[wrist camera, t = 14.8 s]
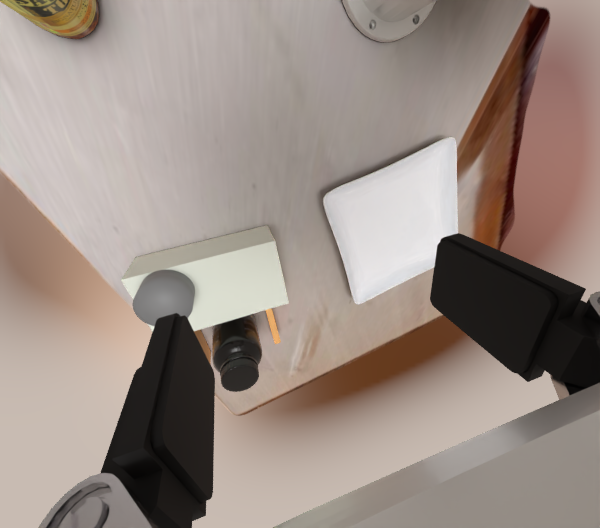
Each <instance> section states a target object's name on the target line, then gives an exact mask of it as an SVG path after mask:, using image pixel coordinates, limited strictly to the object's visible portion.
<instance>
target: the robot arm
mask: <svg viewBox="0 0 600 528" xmlns="http://www.w3.org/2000/svg"><path fill="white" fill-rule="evenodd" d="M436 1H437V0H342V2H343V5H344V7H345V9H346V12H347V14H348V16H349V18H350V19H351V21H352V22H353V23H354V25H355V26H356V27H357V28H358V29H359V30H360V31H361V32H362V33H363V34H364V35H366V36H367V37H369V38H371V39H372V40H376V41H379V42H391V41H395V40H399V39H401V38H403V37H405V36H407V35H409V34H410V33H411V32H413V31H414V30H416V29H417V28H418V27H419V26H420V25H421V24H422V23H423V22H424V20H425V19H426V18H427V16H428V15H429V13H430V12H431V10H432V8H433V6H434V5H435V3H436ZM369 25H370V28H369ZM585 290H586V289H585V288H583V287H580V286H578V285H576V284H574V283H571V282H569V281H567V280H564V279H562V278H560V277H558V276H555V275H553V274H551V273H549V272H546V271H544V270H542V269H540V268H537V267H535V266H533V265H530V264H528V263H526V262H524V261H521V260H519V259H517V258H514V257H512V256H510V255H508V254H506V253H503V252H501V251H499V250H496V249H494V248H492V247H490V246H487V245H485V244H483V243H481V242H478V241H476V240H474V239H471V238H469V237H467V236H465V235H462V234H459V233H458V234H453V235H450V236H446V237H443V238H442V239H441V240H440V243H439V244H438V245H437V252H436V259H435V266H434V274H433V281H432V289H431V296H430V300H431V303H432V305H433V306H434V307H435V308H436V309H437V310H438V311H440V312H441V313H442V314H443V315H444V316H446V317H447V318H448V319H449V320H450V321H452V322H453V323H454V324H455V325H456V326H458V327H459V328H460V329H461V330H462V331H464V332H465V333H466V334H467V335H468V336H470V337H471V338H472V339H473V340H474V341H476V342H477V343H478V344H479V345H480V346H482V347H483V348H484V349H485V350H486V351H488V352H489V353H490V354H491V355H492V356H494V357H495V358H496V359H497V360H499V361H500V362H501V363H502V364H503V365H504V366H505V367H507V368H508V369H509V370H511V371H512V372H514V373H518V374H519V375H520V376H521V377H523V378H524V379H525V380H526V381H527V382H529V381H531V380H534V379H536V378H538V377H541V376H542V374H543V372H544V370H545V371H547V372H548V373H549V374H550V375H551V379H552V382H553V384H554V387H555V389H556V392H557V395H558V397H559V400H558V401H556V402H554V403H552V404H549V405H547V406H545V407H543V408H540V409H538V410H535V411H533V412H531V413H528V414H526V415H524V416H522V417H519V418H517V419H515V420H512V421H510V422H508V423H506V424H503V425H501V426H499V427H497V428H495V429H492V430H490V431H487V432H485V433H483V434H481V435H478V436H476V437H474V438H471V439H469V440H467V441H465V442H462V443H460V444H458V445H456V446H453V447H451V448H449V449H447V450H444V451H442V452H440V453H438V454H435V455H433V456H431V457H428V458H426V459H424V460H422V461H419V462H417V463H415V464H413V465H410V466H408V467H406V468H404V469H401V470H399V471H397V472H395V473H392V474H390V475H388V476H386V477H383V478H381V479H379V480H377V481H374V482H372V483H370V484H368V485H366V486H363V487H361V488H359V489H357V490H354V491H352V492H350V493H348V494H345V495H343V496H341V497H339V498H336V499H334V500H332V501H330V502H328V503H326V504H323V505H321V506H318V507H316V508H314V509H312V510H310V511H307V512H305V513H303V514H301V515H299V516H297V517H295V518H293V519H291V520H288V521H286V522H284V523H282V524H280V525H278V526H276V527H273V528H600V292H596V293H594V294H592V295H591V296H590V298H589V300H588V301H587V303H585V302H583V301H581V298H582V296H583V294H584V292H585ZM214 390H215V378H214V372H213V369H212V367H211V365H210V363H209V361H208V359H207V357H206V355H205V353H204V351H203V349H202V347H201V345H200V343H199V341H198V339H197V337H196V335H195V333H194V331H193V329H192V326H191V324H190V322H189V320H188V318H187V317H186V316H185V315H184V316H180V315H179V314H178V313H174V314H171V315H167V316H164V317H160V318H158V319H157V321H156V324H155V327H154V330H153V333H152V336H151V339H150V342H149V345H148V349H147V351H146V355H145V358H144V361H143V364H142V367H140V368H139V369H138V370H136V372H135V374H134V377H133V380H132V383H131V385H130V388H129V391H128V394H127V397H126V400H125V403H124V406H123V409H122V412H121V415H120V418H119V421H118V423H117V427H116V430H115V432H114V435H113V438H112V441H111V444H110V447H109V450H108V453H107V456H106V459H105V461H104V465H103V468H102V470H101V473H100V474H97V475H94V476H91V477H89V478H87V479H85V480H84V481H82V482H80V483H78V484H77V485H76V486H75V487H73V488H72V489H71V490H70V491H68V492H67V493H66V494H65V495H64V496H63V497H62V498H61V499H60V500H59V501H58V502H57V503H56V504H55V505H54V507H53V508H52V509H51V510H50V512H49V513H48V514H47V516H46V517H45V519H44V520H43V521H42V523H41V524H40V526H39V528H192V521H194V520H196V519H199V518H201V517H203V516H205V515H206V500H209V499H211V497H212V493H213V450H214V447H213V446H214Z"/></svg>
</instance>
